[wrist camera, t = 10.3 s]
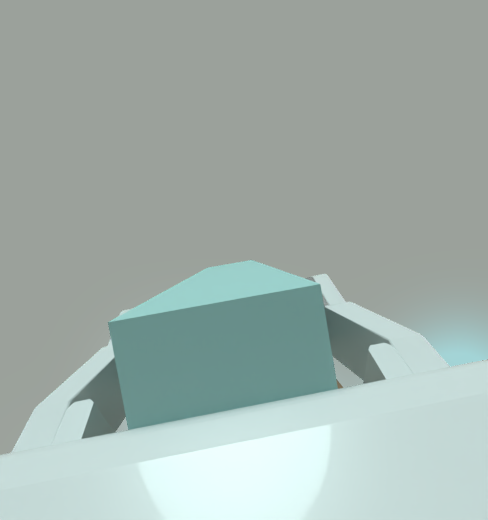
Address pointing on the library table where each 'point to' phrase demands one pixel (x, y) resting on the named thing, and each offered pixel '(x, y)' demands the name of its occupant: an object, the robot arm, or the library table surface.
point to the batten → (222, 344)
